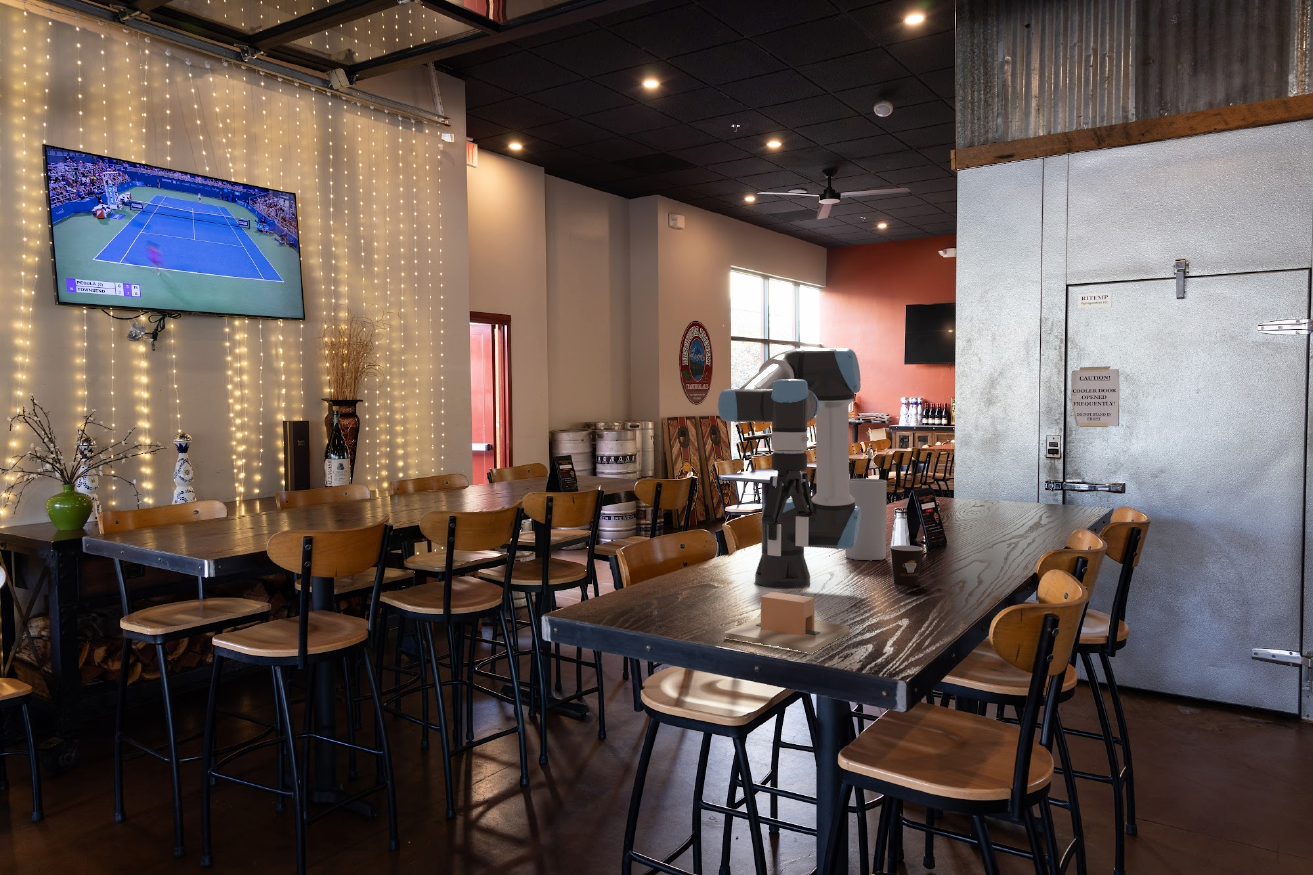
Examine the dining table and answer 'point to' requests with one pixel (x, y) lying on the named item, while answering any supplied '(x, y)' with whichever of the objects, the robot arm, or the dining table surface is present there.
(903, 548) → the coffee mug
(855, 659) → the dining table surface
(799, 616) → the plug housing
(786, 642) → the board
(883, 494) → the cylinder vase
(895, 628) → the dining table surface
